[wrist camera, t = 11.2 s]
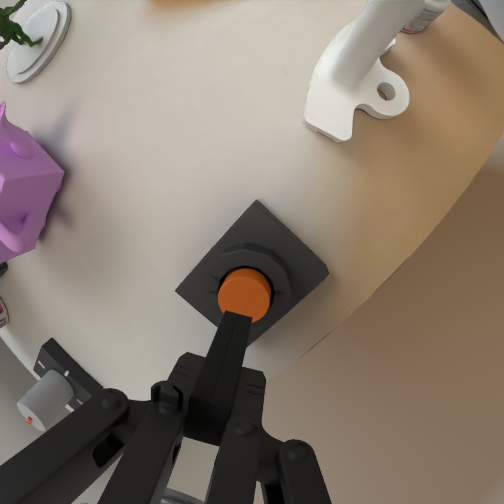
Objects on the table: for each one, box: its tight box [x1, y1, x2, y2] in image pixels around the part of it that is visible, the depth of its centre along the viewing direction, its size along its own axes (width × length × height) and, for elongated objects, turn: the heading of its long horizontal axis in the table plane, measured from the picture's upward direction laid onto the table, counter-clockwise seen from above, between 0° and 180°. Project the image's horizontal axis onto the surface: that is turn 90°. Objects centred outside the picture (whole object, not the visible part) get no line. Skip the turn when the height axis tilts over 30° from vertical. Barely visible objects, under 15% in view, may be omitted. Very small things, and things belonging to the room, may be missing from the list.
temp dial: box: [17, 370, 74, 431], centre depth 26 cm, size 5×5×8 cm
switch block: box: [175, 200, 329, 348], centre depth 23 cm, size 10×8×4 cm
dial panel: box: [33, 338, 103, 410], centre depth 31 cm, size 10×9×3 cm
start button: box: [218, 268, 271, 322], centre depth 20 cm, size 4×4×2 cm
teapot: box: [0, 101, 65, 264], centre depth 20 cm, size 15×13×11 cm
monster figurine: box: [0, 0, 71, 83], centre depth 14 cm, size 12×12×10 cm
